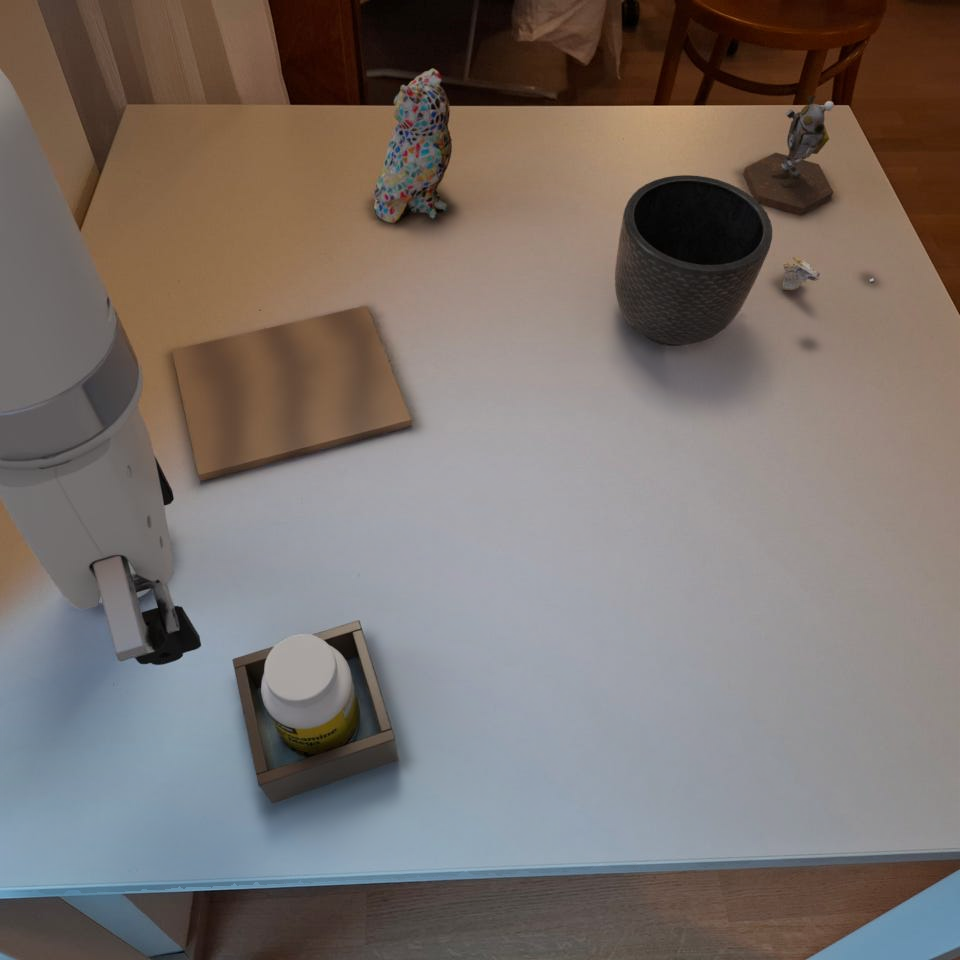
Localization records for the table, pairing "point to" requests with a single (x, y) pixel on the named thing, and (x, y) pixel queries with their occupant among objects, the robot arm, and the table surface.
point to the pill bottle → (310, 695)
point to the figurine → (416, 151)
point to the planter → (688, 257)
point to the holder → (328, 763)
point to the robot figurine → (794, 165)
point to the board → (287, 391)
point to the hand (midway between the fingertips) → (158, 574)
